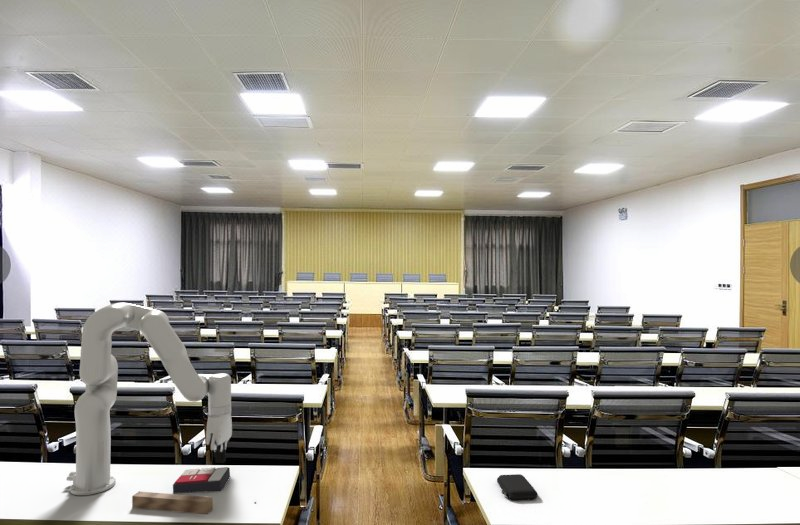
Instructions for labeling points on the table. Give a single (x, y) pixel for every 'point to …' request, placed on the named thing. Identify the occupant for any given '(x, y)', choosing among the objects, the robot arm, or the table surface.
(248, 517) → the table surface
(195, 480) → the calculator
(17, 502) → the table surface
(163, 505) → the bar
